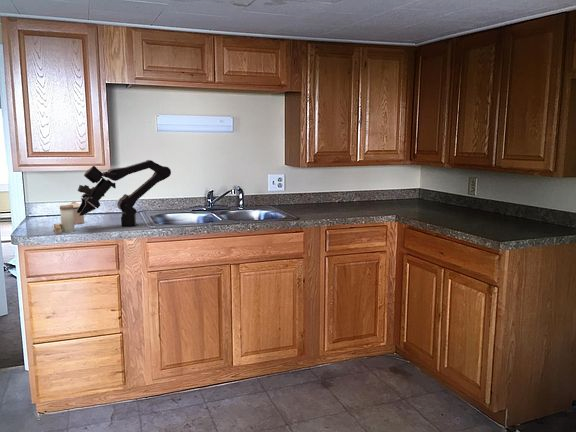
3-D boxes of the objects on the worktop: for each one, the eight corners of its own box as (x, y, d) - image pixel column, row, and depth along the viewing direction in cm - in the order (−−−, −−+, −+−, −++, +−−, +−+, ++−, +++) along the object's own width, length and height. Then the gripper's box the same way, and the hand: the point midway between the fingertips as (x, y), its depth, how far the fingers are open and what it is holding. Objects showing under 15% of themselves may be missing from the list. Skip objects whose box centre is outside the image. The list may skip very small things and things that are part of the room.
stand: (74, 228, 249) (73, 222, 249) (77, 232, 239) (77, 226, 239) (54, 230, 245) (53, 224, 244) (56, 234, 235) (56, 227, 234)
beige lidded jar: (70, 221, 269) (68, 200, 267) (87, 221, 269) (85, 199, 267) (60, 225, 257) (59, 203, 255) (78, 225, 257) (77, 202, 256)
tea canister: (76, 229, 246) (74, 204, 244) (72, 232, 240) (70, 206, 238) (63, 230, 245) (62, 205, 243) (59, 232, 239) (57, 206, 237)
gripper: (84, 177, 252) (62, 201, 248) (90, 180, 236) (67, 205, 232) (102, 191, 257) (81, 215, 253) (109, 195, 241) (87, 220, 237)
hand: (78, 214), depth 244 cm, fingers open, 9 cm apart
